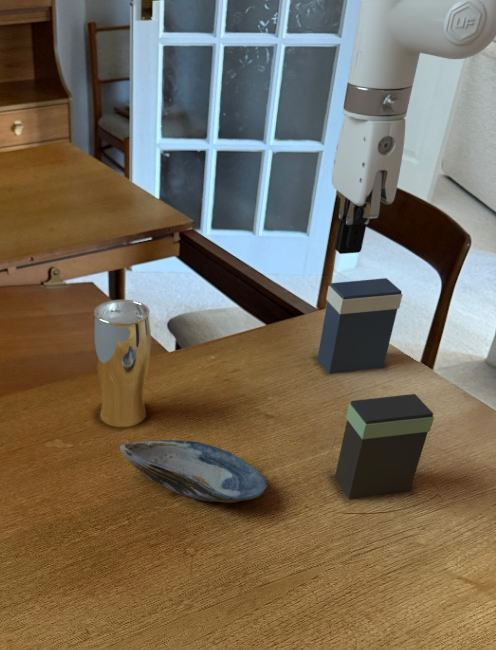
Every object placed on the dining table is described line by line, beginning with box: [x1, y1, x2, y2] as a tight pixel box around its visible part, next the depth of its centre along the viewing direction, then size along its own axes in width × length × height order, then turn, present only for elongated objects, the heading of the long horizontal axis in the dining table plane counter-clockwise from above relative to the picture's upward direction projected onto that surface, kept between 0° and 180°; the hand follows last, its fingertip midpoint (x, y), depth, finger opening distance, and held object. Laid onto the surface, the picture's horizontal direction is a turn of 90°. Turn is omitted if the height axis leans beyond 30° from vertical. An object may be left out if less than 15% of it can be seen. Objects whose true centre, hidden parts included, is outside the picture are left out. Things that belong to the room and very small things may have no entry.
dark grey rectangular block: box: [334, 393, 435, 500], centre depth 81 cm, size 8×4×11 cm, turn 99°
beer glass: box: [92, 299, 152, 428], centre depth 92 cm, size 7×7×15 cm
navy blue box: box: [317, 277, 403, 374], centre depth 102 cm, size 8×5×12 cm, turn 99°
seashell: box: [119, 439, 268, 503], centre depth 83 cm, size 15×12×5 cm
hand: (347, 250), depth 101 cm, fingers closed
